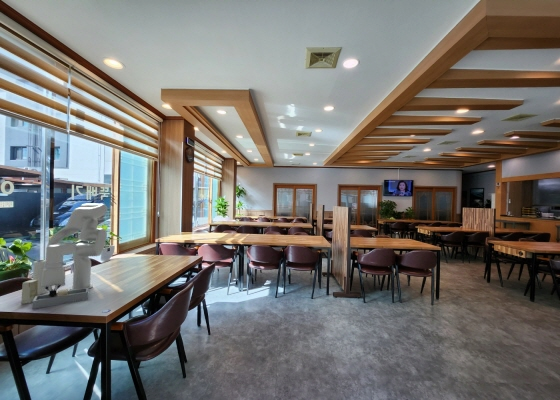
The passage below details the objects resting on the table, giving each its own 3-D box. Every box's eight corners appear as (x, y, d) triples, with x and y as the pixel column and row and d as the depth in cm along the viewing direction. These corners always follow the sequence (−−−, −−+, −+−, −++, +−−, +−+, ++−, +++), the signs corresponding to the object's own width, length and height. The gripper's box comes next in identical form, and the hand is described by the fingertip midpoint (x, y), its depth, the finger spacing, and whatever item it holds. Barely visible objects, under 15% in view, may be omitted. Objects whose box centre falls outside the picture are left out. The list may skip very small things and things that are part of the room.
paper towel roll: (30, 296, 152) (32, 262, 153) (33, 293, 157) (35, 260, 158) (46, 294, 156) (47, 260, 157) (48, 291, 161) (50, 259, 162)
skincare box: (30, 303, 141) (31, 282, 141) (20, 304, 140) (21, 282, 140) (37, 299, 147) (38, 279, 147) (28, 300, 146) (29, 279, 146)
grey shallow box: (35, 303, 141) (35, 295, 141) (87, 294, 156) (87, 287, 156) (32, 309, 133) (32, 301, 133) (87, 299, 148) (88, 291, 148)
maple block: (57, 297, 145) (58, 290, 145) (67, 295, 147) (68, 288, 148) (57, 299, 141) (57, 292, 141) (67, 297, 144) (67, 290, 144)
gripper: (71, 263, 150) (69, 292, 149) (37, 266, 141) (35, 298, 140) (70, 265, 144) (69, 296, 143) (35, 268, 135) (33, 302, 134)
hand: (52, 297), depth 142 cm, fingers closed
